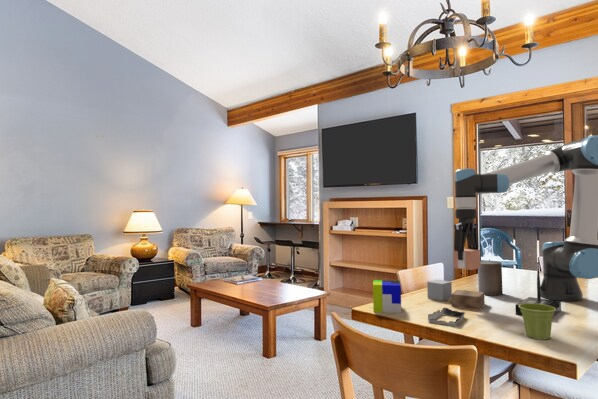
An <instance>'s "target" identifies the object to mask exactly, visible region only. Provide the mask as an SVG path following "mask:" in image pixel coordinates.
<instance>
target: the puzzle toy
mask: <svg viewBox="0 0 598 399" xmlns="http://www.w3.org/2000/svg"><path fill="white" fill-rule="evenodd" d="M401 286H402V285H401V282H400V280H394V279H392V280H390V279H389V280H386V279H381V280H380V279H378V280H377V279H374V280H373V282H372V300H373V301H372V302H373V303H372V304H373V305H372V308H373V313H374V312H375V313H395V314H396V313H399V314H401V313H402V290H401V289H402V287H401Z"/></svg>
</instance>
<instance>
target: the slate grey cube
mask: <svg viewBox="0 0 598 399" xmlns="http://www.w3.org/2000/svg"><path fill="white" fill-rule="evenodd" d="M426 283H427V286H426V289H427V299H429V300H430V299H431V300H435V301H440V302H445V301H448V300H451V294H452V293H453V290H452V289H453V288H452V285H453V284H452V283H453V282H452V281H448V280H441V279H433V280H429V281H427V282H426Z"/></svg>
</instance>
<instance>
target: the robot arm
mask: <svg viewBox="0 0 598 399" xmlns="http://www.w3.org/2000/svg"><path fill="white" fill-rule="evenodd" d="M569 170H570V172H572V173H573V175H574V177H575V178H574V187H573V188H574V189H573V198H572V207H571V208H572V209H571V216H570V218H571V219H570V229H569V237H566V238H565V239H564V241H546V242H543V243H542V250H541V252H542V267H543V269H542V271H543V272H542V273H543V278H542V281H541V282H540V290H541V298H543V299H548V300H555V301H565V302H577V301H578V302H579V301H583V298H584V297H583V291H582V289H581V287H580V283H579V281H578V279H582V280H583V279H585V280H594V279H596V278H598V134H595V135H589V136H587V137H583V138H580V139H579V138H578V139H576V140H575V139H574V140H571V141H569V142H567V143H565V144H563V145H561V146H558V147H556V148H553V149H551V150H547V151H546V152H545V153H544V154H543V155H540V156H537V157H534V158H530V159H527V160H524V161H520V162H518V163H515V164H511V165H509V166H506V167H505V166H504V167H503V168H499V169H496V170H493V171H490V172H487V173H481V174H480V173H476V169H475V168H460V169H456V170H455V171H454V181H453V182H454V198H455V200H454V203H455V204H454V205H455V208H456V209H455V219H456V220H457V219H458V222H457V223H454V224H453V225H454V228H453V229H454V240H453V251H454V250H455V251H458V268H461V270H467V269H466V260H465V252H464V249H466V248H465V246H466V242H467V246H468V249H474V250H479V237H478V235H479V234H478V223H477V222H476V223H474V220H475V219H476V218H477V209H476V208H477V196H478V195H483V194H484V195H487V194H502V193H504V194H505V193H506V192H507V191H508V190H509V188H510V187H509V186H511V185H513V184H516V183H520V182H523V181H526V180H529V179H533V178H536V177H539V176H542V175H544V174H545V175H546V174H549V173H552V174H556V173H559V172H565V171H569ZM458 268H457V269H458Z"/></svg>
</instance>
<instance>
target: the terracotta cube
mask: <svg viewBox="0 0 598 399" xmlns="http://www.w3.org/2000/svg"><path fill="white" fill-rule="evenodd" d="M464 252H465V260H466V269H465V270H468V271H469V270H470V271H472V270H478V268H480V261H481V249H478V250H474V249H469V248H464ZM453 269H461V268H458V251H455V250H454V249H453ZM461 270H462V269H461Z"/></svg>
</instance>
